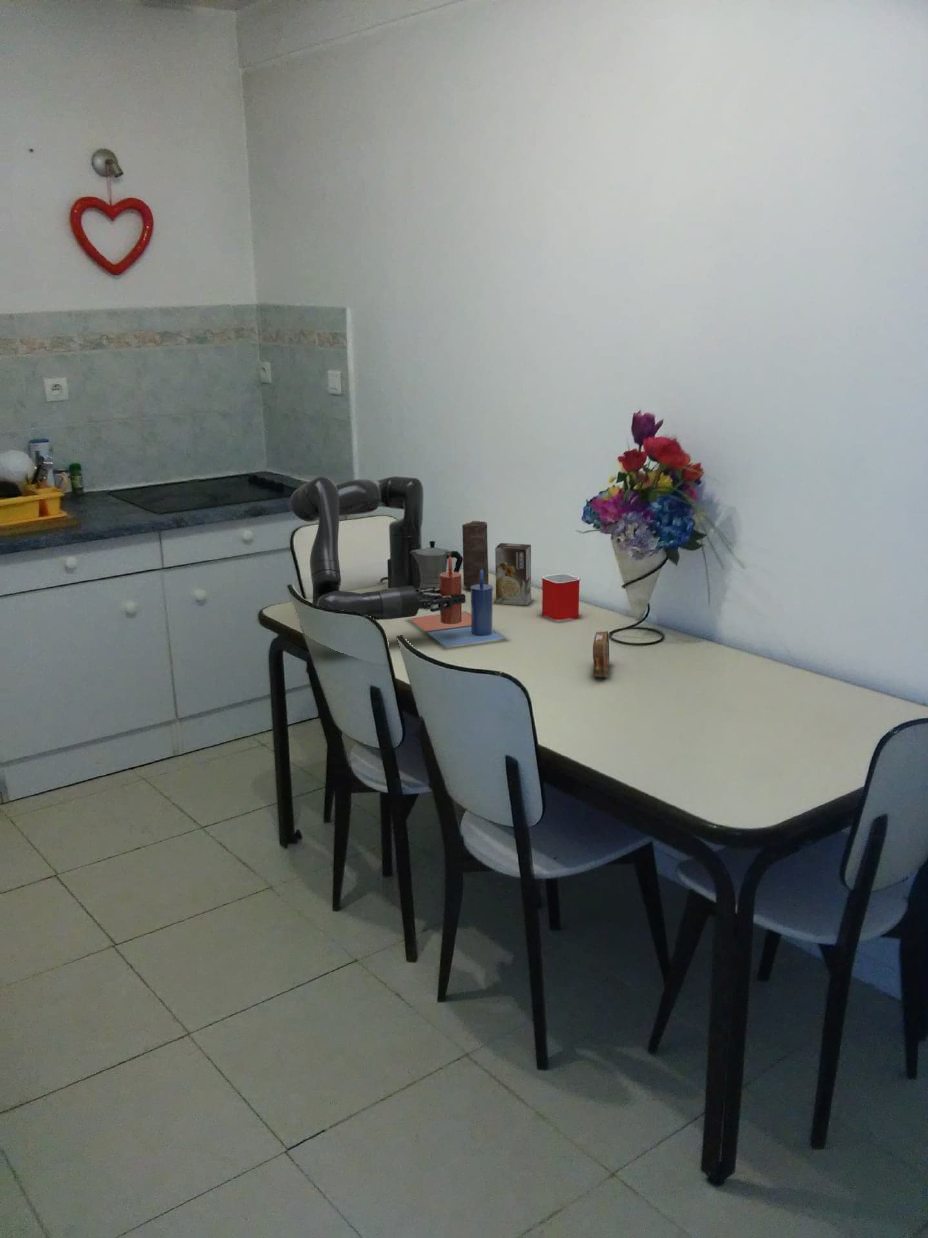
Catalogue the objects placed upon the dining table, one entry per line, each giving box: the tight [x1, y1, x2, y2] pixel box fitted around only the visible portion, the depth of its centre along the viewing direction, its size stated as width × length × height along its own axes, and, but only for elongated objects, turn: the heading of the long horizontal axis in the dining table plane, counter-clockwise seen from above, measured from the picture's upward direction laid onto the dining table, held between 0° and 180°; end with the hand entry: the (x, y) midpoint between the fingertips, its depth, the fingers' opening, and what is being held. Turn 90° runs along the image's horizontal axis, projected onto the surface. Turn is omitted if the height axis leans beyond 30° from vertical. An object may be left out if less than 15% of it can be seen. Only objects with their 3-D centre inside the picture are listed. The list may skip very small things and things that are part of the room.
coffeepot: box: [410, 540, 463, 600], centre depth 294 cm, size 15×9×18 cm, turn 70°
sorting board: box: [408, 610, 506, 648], centre depth 273 cm, size 16×26×1 cm, turn 23°
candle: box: [461, 520, 490, 590], centre depth 309 cm, size 8×7×20 cm
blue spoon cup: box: [470, 570, 494, 636], centre depth 267 cm, size 5×5×16 cm
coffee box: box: [494, 542, 532, 606], centre depth 296 cm, size 9×6×16 cm
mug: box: [541, 572, 581, 621], centre depth 284 cm, size 12×8×11 cm
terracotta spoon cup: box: [439, 557, 463, 624], centre depth 263 cm, size 5×5×16 cm
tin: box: [592, 630, 610, 679], centre depth 242 cm, size 15×3×8 cm, turn 168°
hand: (460, 595), depth 264 cm, fingers closed on terracotta spoon cup, 5 cm apart
